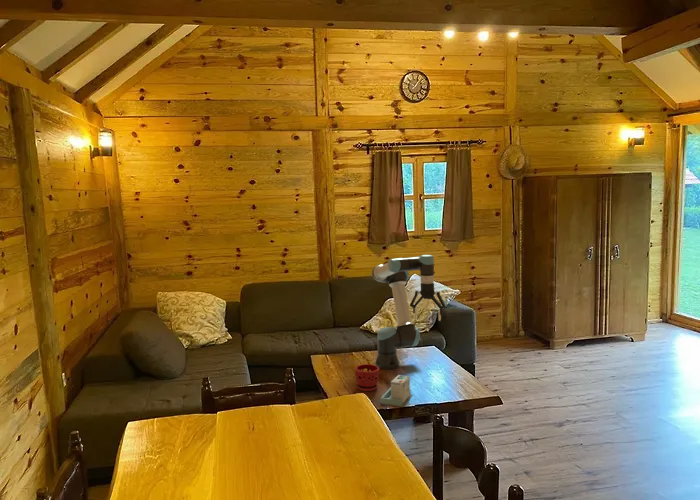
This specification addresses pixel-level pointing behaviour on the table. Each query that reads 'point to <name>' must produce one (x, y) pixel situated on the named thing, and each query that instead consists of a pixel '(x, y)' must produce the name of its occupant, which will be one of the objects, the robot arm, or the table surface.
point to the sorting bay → (393, 402)
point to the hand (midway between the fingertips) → (427, 319)
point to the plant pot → (367, 377)
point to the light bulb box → (400, 388)
